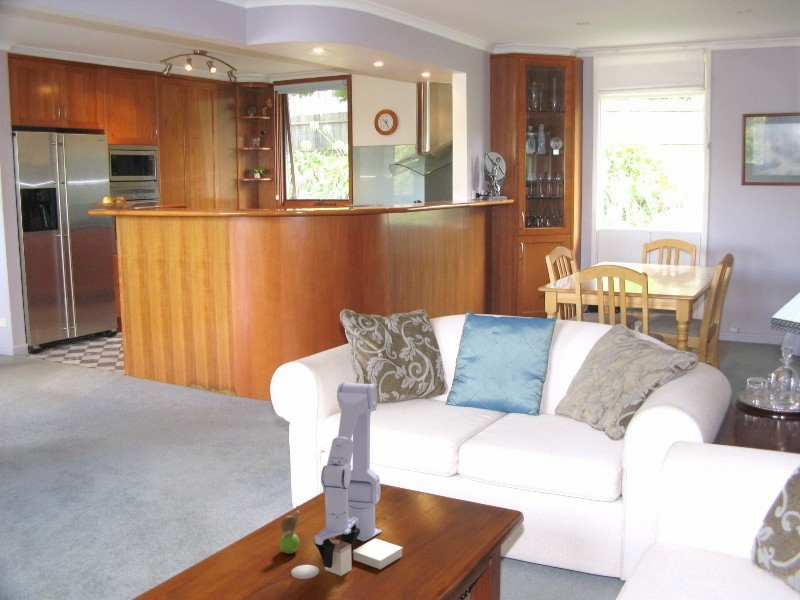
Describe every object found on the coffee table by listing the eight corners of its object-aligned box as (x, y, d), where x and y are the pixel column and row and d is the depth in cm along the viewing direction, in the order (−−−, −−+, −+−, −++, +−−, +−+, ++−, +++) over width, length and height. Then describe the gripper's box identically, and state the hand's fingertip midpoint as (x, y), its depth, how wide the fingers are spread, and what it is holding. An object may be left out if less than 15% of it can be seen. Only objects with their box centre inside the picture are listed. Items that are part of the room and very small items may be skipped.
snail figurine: (307, 550, 224) (305, 508, 222) (288, 559, 219) (286, 515, 217) (294, 545, 228) (292, 503, 226) (275, 553, 223) (273, 510, 221)
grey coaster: (285, 574, 212) (285, 572, 211) (304, 564, 217) (304, 562, 217) (305, 582, 207) (305, 580, 207) (324, 572, 213) (324, 570, 213)
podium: (352, 559, 218) (352, 550, 218) (375, 546, 226) (375, 538, 225) (380, 569, 213) (380, 560, 212) (402, 556, 220) (402, 547, 220)
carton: (325, 569, 213) (324, 544, 212) (335, 563, 216) (335, 538, 215) (341, 576, 210) (340, 549, 209) (351, 569, 213) (351, 544, 212)
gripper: (328, 523, 203) (330, 576, 205) (367, 505, 214) (368, 554, 216) (308, 516, 207) (309, 568, 209) (346, 498, 218) (348, 547, 220)
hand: (338, 561), depth 213 cm, fingers open, 7 cm apart
